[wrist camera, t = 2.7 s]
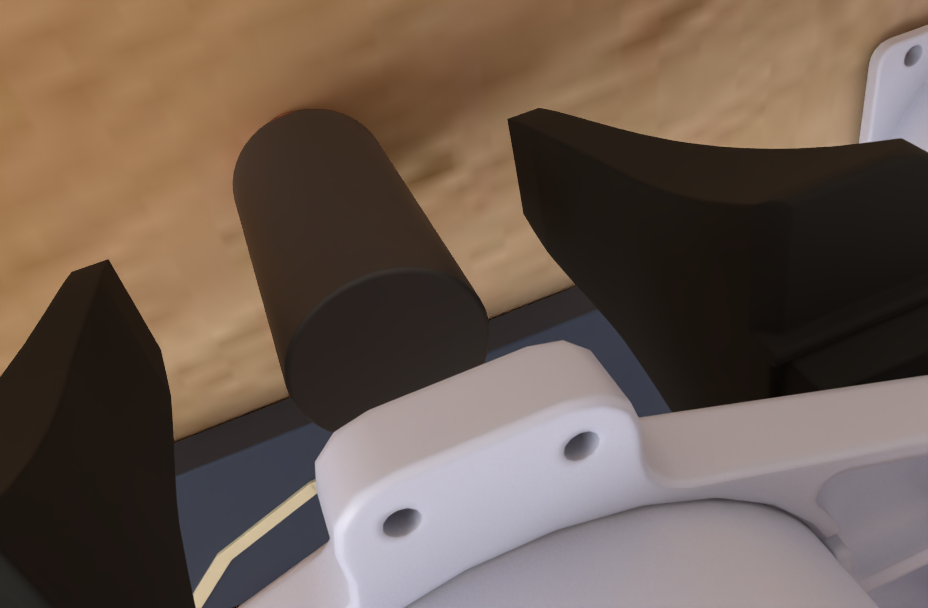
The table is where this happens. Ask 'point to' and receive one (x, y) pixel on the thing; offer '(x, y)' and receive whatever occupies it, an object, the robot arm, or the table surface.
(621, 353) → the face board
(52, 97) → the table surface
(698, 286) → the robot arm
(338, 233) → the marker
